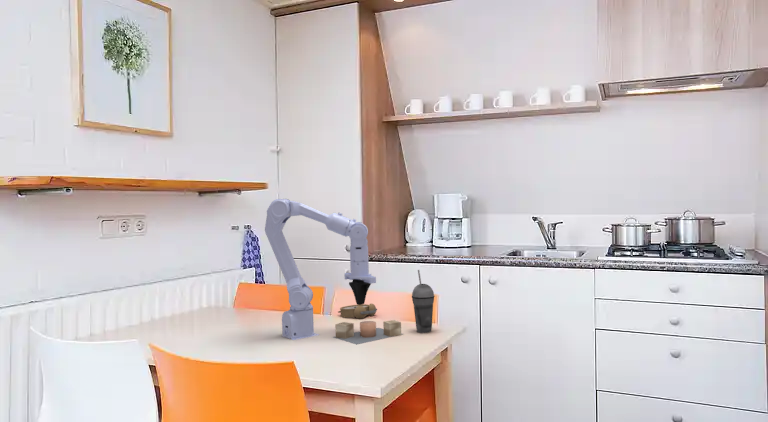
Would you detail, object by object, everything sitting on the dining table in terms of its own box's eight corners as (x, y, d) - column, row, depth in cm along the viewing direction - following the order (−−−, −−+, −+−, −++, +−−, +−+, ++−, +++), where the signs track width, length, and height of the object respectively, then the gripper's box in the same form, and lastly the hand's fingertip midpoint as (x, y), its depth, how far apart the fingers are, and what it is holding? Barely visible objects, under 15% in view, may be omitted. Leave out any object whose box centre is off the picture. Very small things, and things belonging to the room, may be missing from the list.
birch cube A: (345, 338, 180) (345, 325, 180) (335, 337, 182) (335, 324, 182) (354, 336, 183) (353, 323, 183) (344, 334, 185) (343, 321, 185)
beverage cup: (434, 336, 182) (432, 271, 182) (410, 335, 184) (408, 271, 183) (437, 330, 190) (435, 268, 189) (414, 330, 191) (412, 268, 191)
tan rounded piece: (366, 338, 180) (366, 325, 179) (356, 335, 184) (356, 322, 183) (379, 335, 183) (379, 322, 183) (369, 332, 187) (369, 320, 186)
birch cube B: (389, 336, 181) (389, 323, 180) (383, 334, 184) (383, 321, 184) (401, 335, 182) (400, 322, 182) (394, 332, 186) (394, 319, 186)
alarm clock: (354, 304, 227) (382, 300, 217) (356, 317, 226) (385, 314, 216) (333, 308, 218) (361, 305, 209) (335, 322, 218) (363, 319, 208)
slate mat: (356, 346, 172) (356, 344, 172) (332, 339, 183) (332, 337, 183) (404, 336, 184) (404, 334, 184) (378, 329, 194) (378, 327, 194)
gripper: (383, 261, 183) (384, 305, 183) (356, 258, 194) (357, 299, 195) (364, 263, 178) (365, 308, 179) (338, 260, 190) (339, 302, 190)
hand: (360, 304), depth 186 cm, fingers closed
